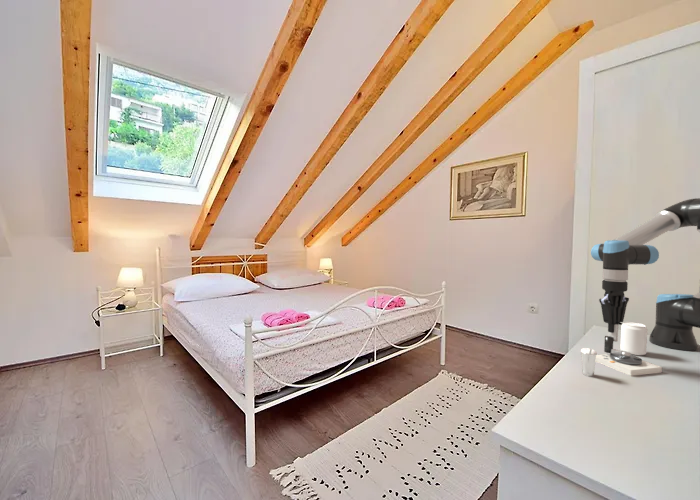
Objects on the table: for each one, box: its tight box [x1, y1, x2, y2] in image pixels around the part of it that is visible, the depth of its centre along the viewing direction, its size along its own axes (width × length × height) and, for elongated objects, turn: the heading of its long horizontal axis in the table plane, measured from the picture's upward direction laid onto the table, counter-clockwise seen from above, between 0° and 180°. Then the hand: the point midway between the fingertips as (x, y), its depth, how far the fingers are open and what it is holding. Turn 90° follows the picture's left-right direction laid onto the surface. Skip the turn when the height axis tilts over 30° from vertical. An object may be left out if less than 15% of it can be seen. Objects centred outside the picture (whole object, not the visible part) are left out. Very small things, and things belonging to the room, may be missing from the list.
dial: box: [603, 335, 643, 365], centre depth 119 cm, size 11×9×7 cm
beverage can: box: [619, 321, 648, 356], centre depth 132 cm, size 8×8×12 cm
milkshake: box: [580, 347, 598, 377], centre depth 110 cm, size 4×5×10 cm
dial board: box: [596, 353, 663, 377], centre depth 118 cm, size 14×14×2 cm
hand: (612, 340), depth 123 cm, fingers closed
